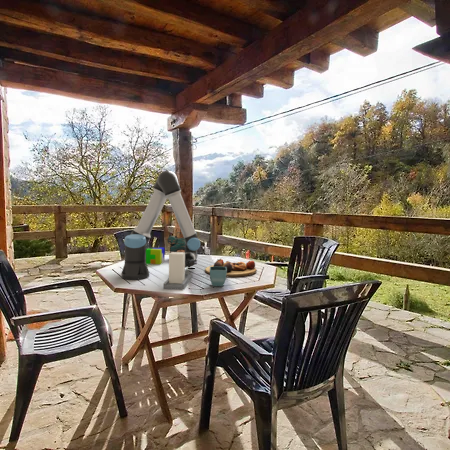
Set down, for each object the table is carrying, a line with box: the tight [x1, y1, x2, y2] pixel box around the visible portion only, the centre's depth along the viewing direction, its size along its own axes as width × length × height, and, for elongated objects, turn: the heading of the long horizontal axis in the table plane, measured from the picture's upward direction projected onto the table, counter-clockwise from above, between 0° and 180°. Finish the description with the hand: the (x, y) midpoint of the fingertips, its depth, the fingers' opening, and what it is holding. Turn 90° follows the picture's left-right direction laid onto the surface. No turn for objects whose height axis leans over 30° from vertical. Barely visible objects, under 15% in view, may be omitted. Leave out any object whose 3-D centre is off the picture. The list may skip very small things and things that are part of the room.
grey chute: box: [163, 272, 193, 290], centre depth 168 cm, size 10×24×3 cm, turn 176°
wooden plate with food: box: [204, 258, 257, 278], centre depth 197 cm, size 32×32×8 cm
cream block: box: [168, 251, 186, 284], centre depth 163 cm, size 7×6×15 cm
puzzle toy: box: [146, 246, 166, 265], centre depth 219 cm, size 10×10×10 cm
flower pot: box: [209, 267, 227, 287], centre depth 164 cm, size 9×9×9 cm
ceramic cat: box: [167, 231, 185, 254], centre depth 234 cm, size 20×6×20 cm, turn 83°
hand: (180, 267), depth 166 cm, fingers closed
